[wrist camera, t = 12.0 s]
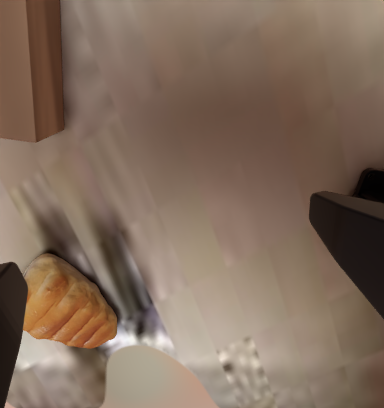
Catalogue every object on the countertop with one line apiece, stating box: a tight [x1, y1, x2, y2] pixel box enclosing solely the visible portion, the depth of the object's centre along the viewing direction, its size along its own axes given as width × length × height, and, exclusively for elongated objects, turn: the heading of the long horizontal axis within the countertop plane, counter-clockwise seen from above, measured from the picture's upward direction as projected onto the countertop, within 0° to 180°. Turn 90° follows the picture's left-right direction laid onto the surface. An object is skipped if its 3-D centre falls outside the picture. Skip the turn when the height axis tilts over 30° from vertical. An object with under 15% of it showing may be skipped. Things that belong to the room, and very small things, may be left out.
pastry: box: [23, 253, 117, 348], centre depth 24 cm, size 9×7×4 cm
